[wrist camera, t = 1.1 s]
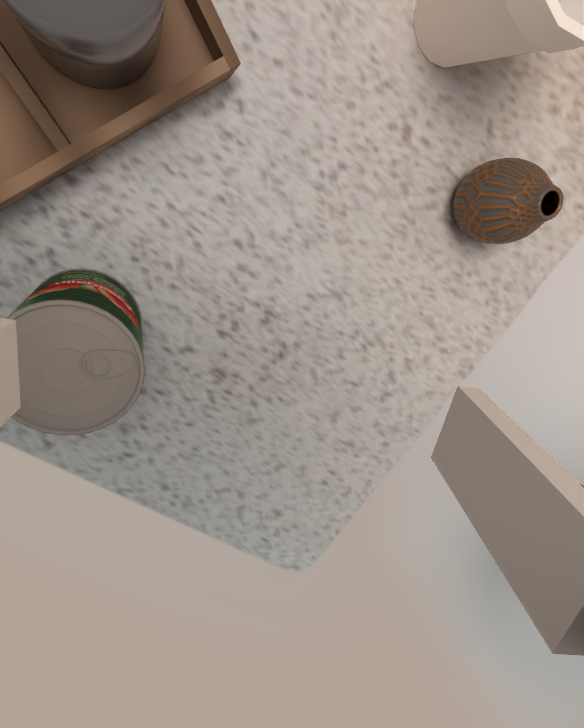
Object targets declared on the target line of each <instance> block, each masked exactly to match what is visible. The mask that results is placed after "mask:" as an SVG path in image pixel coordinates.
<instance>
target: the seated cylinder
mask: <svg viewBox="0 0 584 728" xmlns="http://www.w3.org/2000/svg"><path fill="white" fill-rule="evenodd" d="M4 2H5V3H6V5H7V6H8V8H9V9H10V11H11V12H12V14H13V15H14V17H15V18H16V19H17V21H18V22H19V24H20V25H21V27H22V28H23V30H24V31H25V33H26V34H27V36H28V37H29V39H30V40H31V42H32V43H33V44H34V46H35V47H36V49H37V50H38V51H39V53H40V54H41V55H42V56H43V57H44V58H45V60H46V61H47V62H48V63H49V64H50V65H51V66H53V67H54V68H55V69H56V70H57V71H59V72H60V73H61V74H63V75H64V76H65V77H67V78H69V79H71V80H72V81H74V82H77V83H79V84H81V85H84V86H87V87H90V88H95V89H106V90H110V89H118V88H121V87H125V86H127V85H130V84H132V83H134V82H135V81H136V80H138V79H139V78H141V77H142V76H143V75H144V74H145V73H146V71H147V70H148V69H149V67H150V66H151V64H152V62H153V61H154V59H155V56H156V53H157V51H158V46H159V42H160V36H161V30H162V23H163V17H164V11H165V5H166V0H4Z"/></svg>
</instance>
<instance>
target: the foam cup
mask: <svg viewBox="0 0 584 728" xmlns="http://www.w3.org/2000/svg"><path fill="white" fill-rule="evenodd" d="M414 28H415V32H416V37H417V41H418V46H419V48H420V49H421V50H422V52H423V53H424V55H425V56H426V58H427V59H428V60H429V61H430V62H432V63H434V64H436V65H438V66H440V67H442V68H445V67H452V66H457V65H463V64H469V63H474V62H480V61H486V60H492V59H497V58H503V57H509V56H514V55H520V54H526V53H532V52H537V51H543V50H544V51H546V52H548V53H553V52H558V51H564V50H569V49H574V48H578V47H581V46H584V0H417V2H416V10H415V20H414Z"/></svg>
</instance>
